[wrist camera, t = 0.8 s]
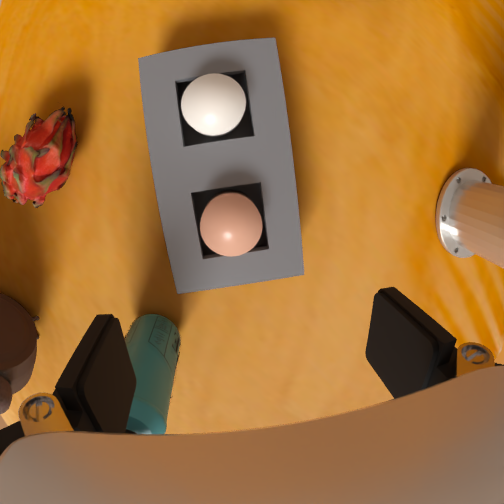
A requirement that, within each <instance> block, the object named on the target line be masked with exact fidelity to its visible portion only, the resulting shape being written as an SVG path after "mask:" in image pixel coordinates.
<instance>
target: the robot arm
mask: <svg viewBox="0 0 504 504" xmlns="http://www.w3.org/2000/svg"><path fill="white" fill-rule="evenodd" d="M436 229H437V233H438V237H439V239H440V242H441V244H442V245H443V247H444V248H445V249H446V250H447V251H448V252H449V253H451V254H452V255H454V256H457V257H459V258H467V257H471V256H472V255H474V254H477V255H479V256H481V257H483V258H485V259H486V260H488V261H490V262H492V263H494V264H496V265H498V266H500V267H502V268H503V269H504V186H500V185H495V184H492V183H491V181H490V180H489V178H488V177H487V176H486V175H485V174H484V173H483V172H482V171H480V170H477V169H473V168H463V169H460V170H458V171H457V172H455V173H454V174H453V175H452V176H451V177H450V178H449V179H448V180H447V182H446V183H445V185H444V186H443V189H442V191H441V193H440V196H439V199H438V203H437V209H436ZM456 340H457V339H456V338H455V337H453V336H452V335H451V334H450V333H449V332H448V331H447V330H445V329H444V328H443V327H442V326H441V325H440V324H438V323H437V322H436V321H435V320H434V319H432V318H431V317H430V316H429V315H428V314H427V313H425V312H424V311H423V310H422V309H420V308H419V307H418V306H417V305H416V304H414V303H413V302H412V301H411V300H410V299H408V298H407V297H406V296H405V295H403V294H402V293H401V292H400V291H398V290H397V289H396V288H394V287H389V288H383V289H380V290H379V291H378V293H376V294H375V296H374V301H373V308H372V315H371V322H370V328H369V335H368V340H367V346H366V358H367V360H368V362H369V363H370V365H371V366H372V367H373V369H374V370H375V372H376V373H377V374H378V376H379V377H380V379H381V380H382V382H383V383H384V384H385V386H386V387H387V389H388V390H389V391H390V393H391V394H392V396H393V397H394V399H392V400H389V401H385V402H382V403H379V404H375V405H371V406H368V407H364V408H360V409H356V410H352V411H348V412H344V413H340V414H335V415H331V416H326V417H322V418H317V419H312V420H307V421H301V422H295V423H290V424H283V425H277V426H270V427H263V428H255V429H246V430H236V431H225V432H212V433H194V434H128V433H125V431H126V427H127V422H128V418H129V414H130V409H131V405H132V401H133V397H134V393H135V389H136V384H137V381H136V376H135V372H134V369H133V366H132V363H131V360H130V357H129V353H128V350H127V347H126V343H125V340H124V336H123V333H122V329H121V325H120V322H119V319H118V318H114V316H113V315H112V314H104V315H97V316H96V317H95V318H94V320H93V322H92V323H91V325H90V326H89V328H88V330H87V331H86V333H85V335H84V336H83V338H82V340H81V341H80V343H79V345H78V346H77V348H76V350H75V352H74V353H73V355H72V357H71V359H70V360H69V362H68V364H67V366H66V367H65V369H64V371H63V373H62V375H61V376H60V378H59V380H58V382H57V384H56V386H55V388H56V389H55V390H54V392H53V394H49V393H37V394H34V395H32V396H30V397H28V398H27V399H26V400H24V401H23V403H22V404H21V406H20V408H19V411H18V412H19V418H20V421H18V422H16V423H14V424H12V425H10V426H8V427H6V428H3V429H1V430H0V504H504V365H502V364H497V363H495V362H494V356H493V354H492V352H491V351H490V350H489V349H488V348H487V347H486V346H484V345H481V344H479V343H474V342H468V343H464V344H462V345H460V346H459V347H458V349H457V348H456V347H454V346H455V343H456Z"/></svg>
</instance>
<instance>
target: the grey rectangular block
mask: <svg viewBox="0 0 504 504" xmlns="http://www.w3.org/2000/svg"><path fill="white" fill-rule="evenodd" d="M138 60H139V72H140V83H141V92H142V102H143V110H144V118H145V126H146V133H147V141H148V148H149V154H150V161H151V167H152V173H153V179H154V185H155V191H156V196H157V202H158V207H159V212H160V217H161V222H162V227H163V232H164V237H165V242H166V247H167V251H168V256H169V260H170V265H171V269H172V273H173V277H174V282H175V286H176V290H177V294H181V293H188V292H196V291H203V290H210V289H216V288H223V287H230V286H237V285H243V284H250V283H256V282H263V281H269V280H275V279H281V278H287V277H293V276H299V275H304V265H303V252H302V240H301V229H300V218H299V208H298V198H297V189H296V180H295V171H294V162H293V154H292V146H291V138H290V130H289V123H288V116H287V108H286V101H285V95H284V88H283V81H282V75H281V69H280V63H279V57H278V51H277V45H276V39H275V38H261V39H248V40H237V41H228V42H220V43H213V44H206V45H199V46H193V47H188V48H182V49H177V50H172V51H167V52H163V53H158V54H154V55H150V56H146V57H142V58H138ZM213 73H215V74H223V75H226V76H229V77H231V78H232V79H234V80H235V81H236V82H237V83H238V84H239V85H240V86H241V87H242V89H243V91H244V94H245V98H246V107H245V111H244V114H243V116H242V119H241V121H240V123H239V124H238V126H237V127H236V128H235V129H234V130H233V131H231V132H230V133H228V134H226V135H223V136H219V137H209V136H205V135H203V134H200V133H199V132H197V131H196V130H195V129H194V128H193V127H191V126H190V125H189V124H188V123H187V121H186V120H185V118H184V116H183V113H182V109H181V100H182V96H183V94H184V91H185V90H186V88H187V87H188V85H189V84H190V83H191V82H193V81H194V80H195V79H197V78H198V77H201V76H203V75H206V74H213ZM226 190H235V191H239V192H242V193H244V194H245V195H247V196H248V197H249V198H250V199H251V200H252V201H253V203H254V204H255V206H256V208H257V209H258V211H259V213H260V216H261V219H262V233H261V236H260V239H259V241H258V242H257V244H256V245H255V246H254V247H253V248H252V249H251V250H250V251H248V252H247V253H245V254H242V255H239V256H232V257H231V256H223V255H220V254H218V253H216V252H214V251H212V250H211V249H210V248H209V247H208V246H207V245H206V243H205V242H204V240H203V238H202V236H201V232H200V222H201V217H202V214H203V212H204V209H205V207H206V205H207V203H208V201H209V200H210V199H211V198H212V197H213V196H214V195H216V194H218V193H220V192H222V191H226Z"/></svg>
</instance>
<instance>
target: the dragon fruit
mask: <svg viewBox="0 0 504 504" xmlns="http://www.w3.org/2000/svg"><path fill="white" fill-rule="evenodd" d="M63 107H64V106H63ZM63 107H62V108H61V109H59V110H56V111H54V112H53V113H52V114H51V115H50V116H49V117H48V118H47V119H46V120H45V121H43V120H42V119H40V118H39V117H36V113H35V114H33V115H32V116H31V118H30V119H29V120H31V121H30V122H29V123H28V124H27V126H26V130H25V134H24V136H23V137H21V135H18V134H17V135H15V136H14V140H15V145H12V146H11V147H10V150H9V152H8V151H3V150H2V151H1V154H0V156H1V157H2V158H3V159H4V160H5V161H6V162H5V163H4V164H3V165H2V167H1V169H0V178H1V179H2V183H1V184H2V185H3V188H4V190H3V191H4V196H6V197H7V198H8V199H12V200H13V202H15V203H20V204H22V205H24V204H25V203H26V202H27V199H29V200H34V201H33V205H34V207H35V208H38V207H39V206H41V205H43V203H44V201H45V196H46V194H47V193H49V192H51V191H55V190H59V189H60V188H62V186H63V185H64V184H65V182H66V180H67V179H68V176H69V172H70V167H71V165H72V162H73V158H74V154H75V149H76V147H77V143H78V142H77V141H76V139H77V136H76V133H75V121H74V118H73V115H72V114H71V108H68V115H67V116H64V115H66V113H65V112H64V109H65V108H63ZM34 120H35V123H34ZM33 124H34V125H33ZM32 125H33V127H32V129H31V130H29V129H30V127H31V126H32ZM14 197H16V200H14V199H13V198H14Z"/></svg>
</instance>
